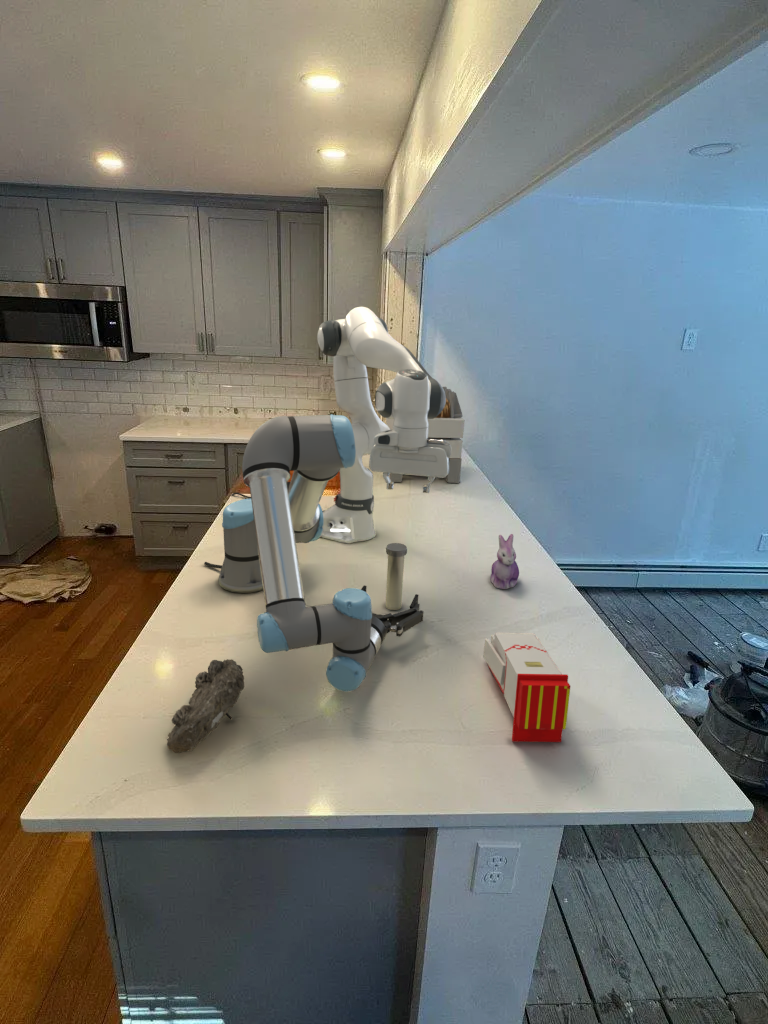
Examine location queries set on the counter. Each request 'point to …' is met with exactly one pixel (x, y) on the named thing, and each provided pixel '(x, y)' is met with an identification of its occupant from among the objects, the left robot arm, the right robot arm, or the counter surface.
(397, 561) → the jar
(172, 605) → the counter surface
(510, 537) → the figurine
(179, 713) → the fossil
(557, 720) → the toy
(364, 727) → the counter surface
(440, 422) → the transformer
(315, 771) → the counter surface
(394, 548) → the lid
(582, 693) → the counter surface
